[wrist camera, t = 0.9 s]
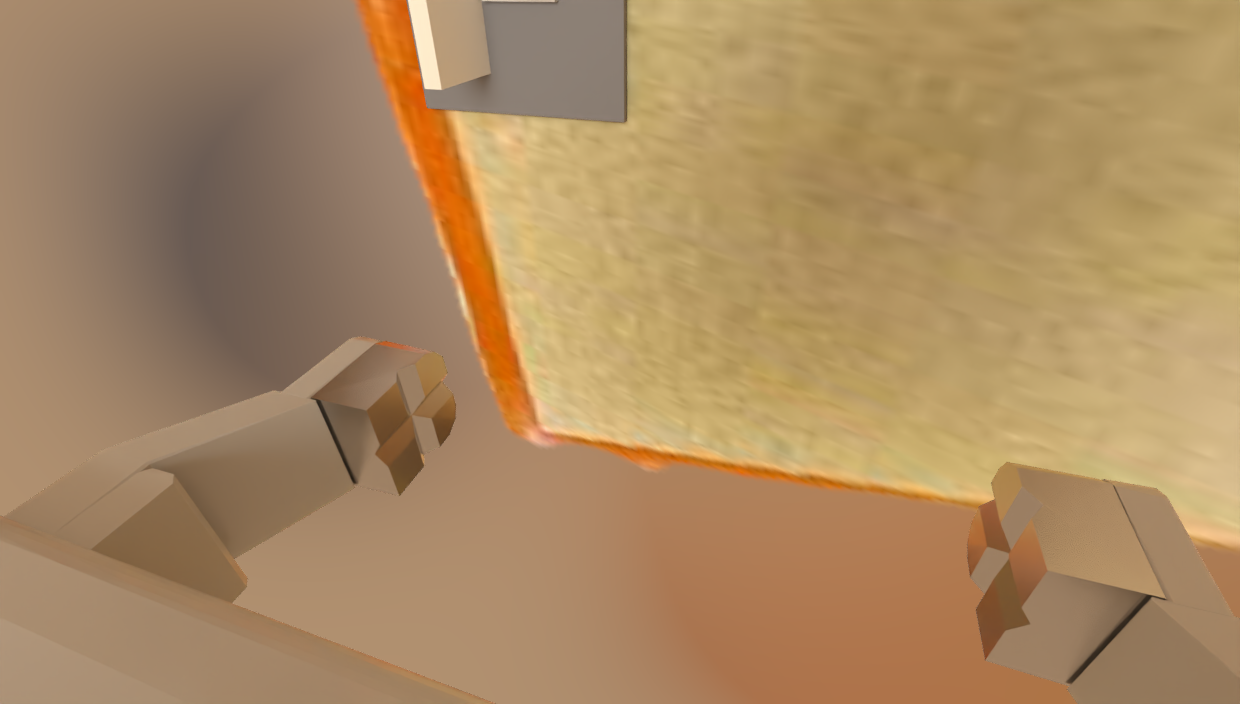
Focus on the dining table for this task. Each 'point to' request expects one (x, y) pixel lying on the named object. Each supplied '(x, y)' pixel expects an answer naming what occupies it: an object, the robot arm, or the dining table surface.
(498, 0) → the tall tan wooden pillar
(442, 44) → the tile
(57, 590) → the robot arm
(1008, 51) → the dining table surface
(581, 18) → the mat
